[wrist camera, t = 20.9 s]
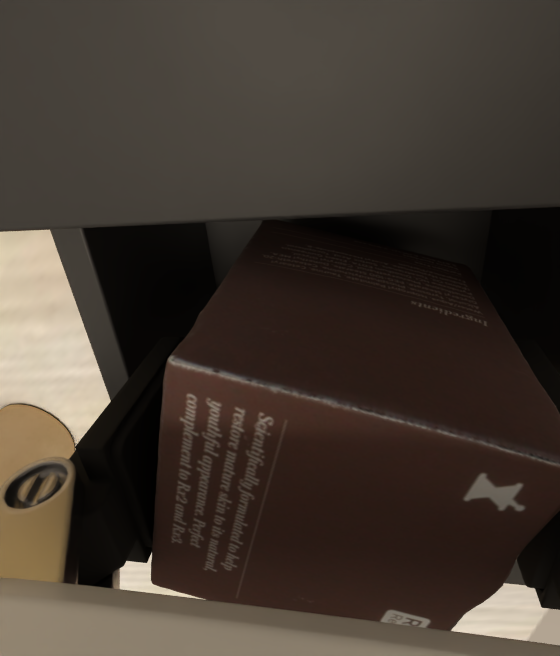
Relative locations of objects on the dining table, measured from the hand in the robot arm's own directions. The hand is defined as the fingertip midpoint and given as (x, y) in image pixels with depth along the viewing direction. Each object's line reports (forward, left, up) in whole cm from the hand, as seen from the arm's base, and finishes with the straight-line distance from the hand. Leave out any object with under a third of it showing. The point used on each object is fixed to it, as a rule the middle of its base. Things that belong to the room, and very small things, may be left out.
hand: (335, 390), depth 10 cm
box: (0, 0, -3) cm, 3 cm away
